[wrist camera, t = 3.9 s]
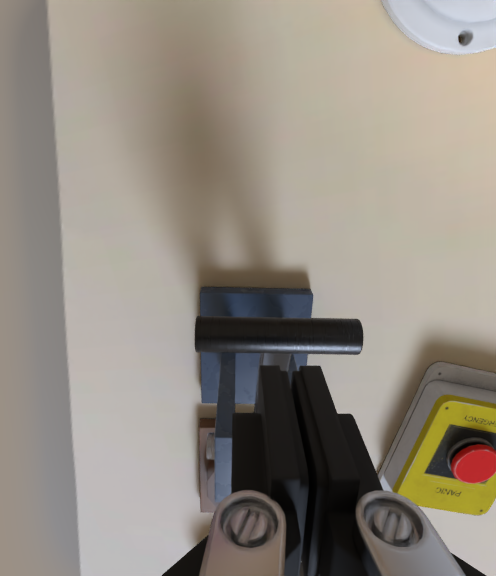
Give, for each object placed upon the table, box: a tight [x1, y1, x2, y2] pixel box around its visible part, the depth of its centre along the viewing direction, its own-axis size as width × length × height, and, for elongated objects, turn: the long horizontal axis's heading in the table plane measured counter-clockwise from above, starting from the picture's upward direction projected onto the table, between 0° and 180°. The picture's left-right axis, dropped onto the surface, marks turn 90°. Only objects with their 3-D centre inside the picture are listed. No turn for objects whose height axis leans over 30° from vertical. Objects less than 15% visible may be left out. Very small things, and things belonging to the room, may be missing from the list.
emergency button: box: [378, 362, 496, 515], centre depth 36 cm, size 9×4×15 cm
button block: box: [199, 419, 220, 512], centre depth 37 cm, size 10×8×3 cm
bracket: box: [200, 287, 313, 502], centre depth 27 cm, size 10×8×13 cm
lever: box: [195, 316, 363, 413], centre depth 19 cm, size 13×6×2 cm, turn 178°
